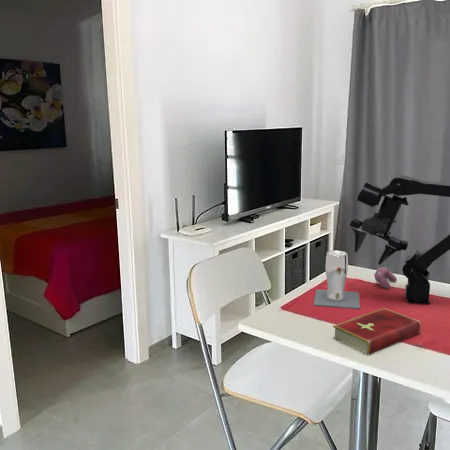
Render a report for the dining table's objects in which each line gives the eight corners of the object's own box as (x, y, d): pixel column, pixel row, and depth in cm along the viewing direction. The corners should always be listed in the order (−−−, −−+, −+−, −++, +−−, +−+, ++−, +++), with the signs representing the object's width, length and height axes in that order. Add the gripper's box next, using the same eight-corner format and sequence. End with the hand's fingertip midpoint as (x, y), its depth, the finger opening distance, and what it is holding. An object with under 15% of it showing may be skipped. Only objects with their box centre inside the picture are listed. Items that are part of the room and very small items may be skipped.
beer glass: (343, 303, 153) (345, 257, 149) (321, 299, 156) (323, 254, 153) (348, 296, 159) (350, 251, 155) (328, 292, 162) (329, 249, 159)
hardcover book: (420, 335, 132) (421, 320, 131) (368, 356, 120) (369, 341, 119) (383, 320, 141) (384, 306, 140) (332, 339, 130) (333, 324, 129)
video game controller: (386, 284, 175) (378, 266, 176) (398, 280, 172) (390, 262, 173) (378, 292, 167) (370, 273, 167) (390, 288, 164) (382, 269, 165)
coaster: (358, 293, 162) (358, 292, 162) (359, 309, 149) (359, 307, 149) (316, 290, 165) (316, 289, 165) (313, 305, 152) (313, 304, 152)
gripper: (350, 199, 154) (331, 244, 157) (402, 222, 141) (379, 270, 145) (367, 204, 162) (348, 246, 165) (417, 226, 149) (396, 271, 152)
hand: (367, 258), depth 157 cm, fingers open, 9 cm apart
